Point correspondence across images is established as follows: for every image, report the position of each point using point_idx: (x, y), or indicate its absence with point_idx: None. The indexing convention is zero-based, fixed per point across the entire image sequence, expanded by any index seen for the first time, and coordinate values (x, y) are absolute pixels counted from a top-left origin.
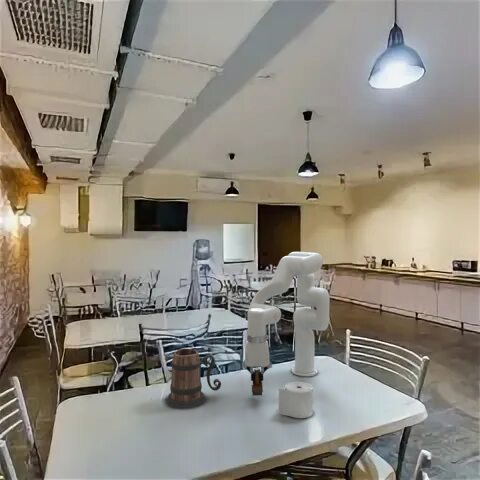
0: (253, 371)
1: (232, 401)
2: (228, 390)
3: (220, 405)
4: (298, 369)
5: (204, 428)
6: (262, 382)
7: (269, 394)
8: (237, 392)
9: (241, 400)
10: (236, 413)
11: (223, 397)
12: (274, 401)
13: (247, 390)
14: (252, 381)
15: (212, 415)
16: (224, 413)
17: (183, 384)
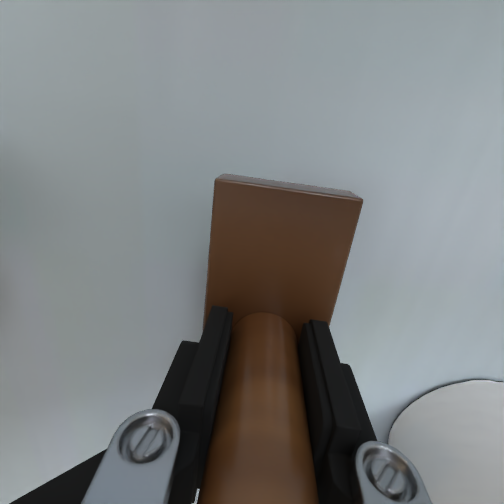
0: (183, 500)
1: (94, 280)
2: (33, 69)
3: (28, 324)
4: None
5: (10, 497)
6: (329, 324)
7: (378, 190)
8: (117, 124)
9: (154, 272)
10: (131, 412)
11: (21, 212)
12: (376, 307)
13: (205, 84)
14: (214, 287)
15: (13, 416)
16: (69, 406)
17: None
